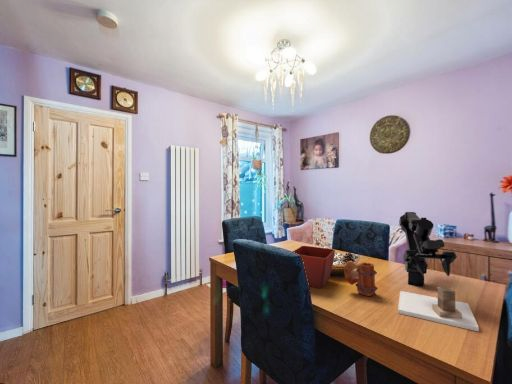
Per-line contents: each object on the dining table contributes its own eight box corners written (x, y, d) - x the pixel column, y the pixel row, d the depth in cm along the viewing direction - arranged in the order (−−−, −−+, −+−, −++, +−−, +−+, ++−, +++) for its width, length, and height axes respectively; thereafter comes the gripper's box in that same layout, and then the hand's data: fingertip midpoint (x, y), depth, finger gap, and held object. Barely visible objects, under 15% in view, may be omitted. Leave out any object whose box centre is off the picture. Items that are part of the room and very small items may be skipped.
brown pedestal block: (439, 317, 90) (439, 291, 90) (432, 309, 96) (431, 285, 96) (461, 318, 88) (461, 293, 88) (452, 310, 94) (452, 286, 94)
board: (398, 313, 96) (398, 309, 96) (400, 294, 113) (400, 290, 113) (478, 331, 83) (478, 327, 83) (467, 306, 100) (467, 303, 100)
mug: (376, 291, 116) (375, 260, 116) (378, 298, 109) (378, 265, 109) (344, 287, 121) (343, 258, 121) (344, 294, 114) (343, 263, 113)
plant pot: (326, 292, 116) (325, 258, 116) (289, 285, 126) (289, 253, 126) (336, 279, 132) (335, 249, 132) (302, 273, 142) (302, 245, 142)
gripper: (405, 231, 107) (416, 264, 96) (454, 232, 103) (471, 266, 92) (399, 245, 115) (408, 276, 104) (444, 246, 110) (459, 279, 100)
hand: (435, 275), depth 100 cm, fingers open, 9 cm apart
